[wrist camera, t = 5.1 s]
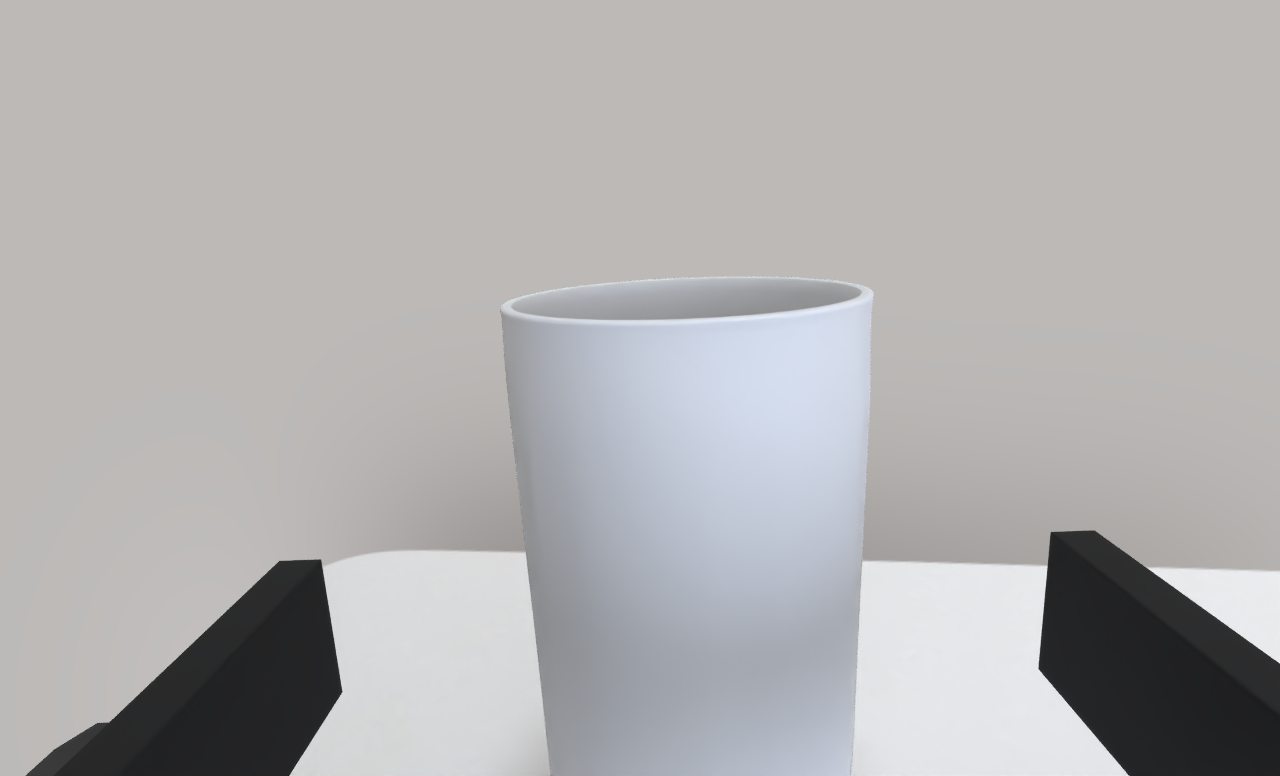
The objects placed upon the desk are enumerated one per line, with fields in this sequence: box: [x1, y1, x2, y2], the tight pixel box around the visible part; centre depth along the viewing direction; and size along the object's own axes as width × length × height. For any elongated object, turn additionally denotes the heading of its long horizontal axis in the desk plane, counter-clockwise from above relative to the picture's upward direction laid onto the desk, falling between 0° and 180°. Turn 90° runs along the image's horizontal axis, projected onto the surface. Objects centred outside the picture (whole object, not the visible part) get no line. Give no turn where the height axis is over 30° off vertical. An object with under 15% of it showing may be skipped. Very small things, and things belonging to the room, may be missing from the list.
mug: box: [500, 277, 874, 776], centre depth 17 cm, size 10×7×12 cm, turn 11°
